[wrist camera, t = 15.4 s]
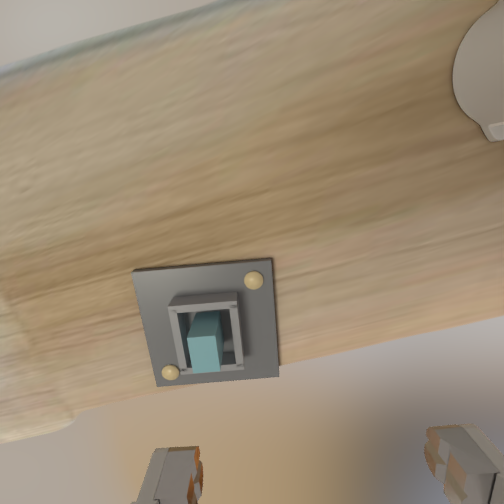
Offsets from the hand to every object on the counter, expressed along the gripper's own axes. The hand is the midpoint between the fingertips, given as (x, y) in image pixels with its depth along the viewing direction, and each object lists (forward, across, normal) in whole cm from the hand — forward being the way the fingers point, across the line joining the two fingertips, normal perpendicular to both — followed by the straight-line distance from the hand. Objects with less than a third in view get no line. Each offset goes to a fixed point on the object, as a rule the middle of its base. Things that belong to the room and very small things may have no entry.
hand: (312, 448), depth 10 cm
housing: (+34, +10, +15) cm, 39 cm away
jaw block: (+33, +10, +15) cm, 37 cm away
